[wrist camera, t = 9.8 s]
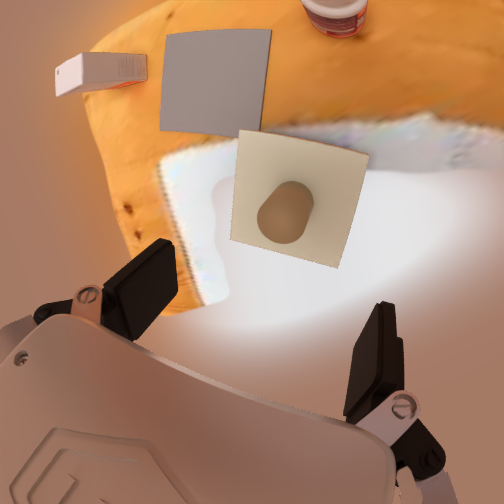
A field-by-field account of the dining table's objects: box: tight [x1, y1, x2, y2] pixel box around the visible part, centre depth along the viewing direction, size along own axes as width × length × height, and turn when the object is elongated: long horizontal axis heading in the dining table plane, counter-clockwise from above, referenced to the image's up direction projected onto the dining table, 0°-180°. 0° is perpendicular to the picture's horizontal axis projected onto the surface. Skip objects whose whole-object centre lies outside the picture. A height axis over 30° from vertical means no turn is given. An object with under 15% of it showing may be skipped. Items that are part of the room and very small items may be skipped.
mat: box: [160, 29, 272, 138], centre depth 28 cm, size 14×14×1 cm
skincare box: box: [55, 52, 147, 97], centre depth 25 cm, size 6×4×12 cm
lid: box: [230, 129, 369, 268], centre depth 24 cm, size 12×12×6 cm
